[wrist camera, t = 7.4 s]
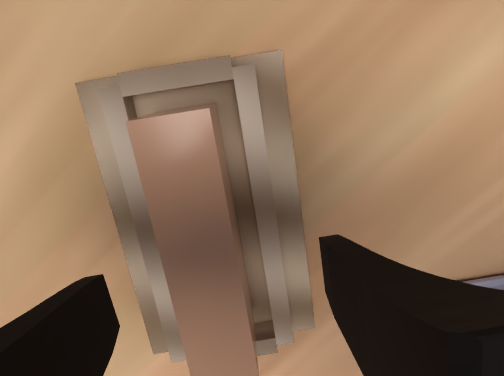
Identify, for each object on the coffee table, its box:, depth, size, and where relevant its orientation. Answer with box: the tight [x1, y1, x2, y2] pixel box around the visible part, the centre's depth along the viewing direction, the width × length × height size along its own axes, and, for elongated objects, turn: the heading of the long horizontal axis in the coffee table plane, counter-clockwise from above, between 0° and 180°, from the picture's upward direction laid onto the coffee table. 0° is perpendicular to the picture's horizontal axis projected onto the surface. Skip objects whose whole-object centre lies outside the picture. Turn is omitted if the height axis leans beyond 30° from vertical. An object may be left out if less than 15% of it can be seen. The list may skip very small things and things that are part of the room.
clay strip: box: [126, 102, 259, 376], centre depth 16 cm, size 12×3×5 cm, turn 9°
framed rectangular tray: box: [75, 50, 315, 362], centre depth 18 cm, size 16×10×2 cm, turn 9°
